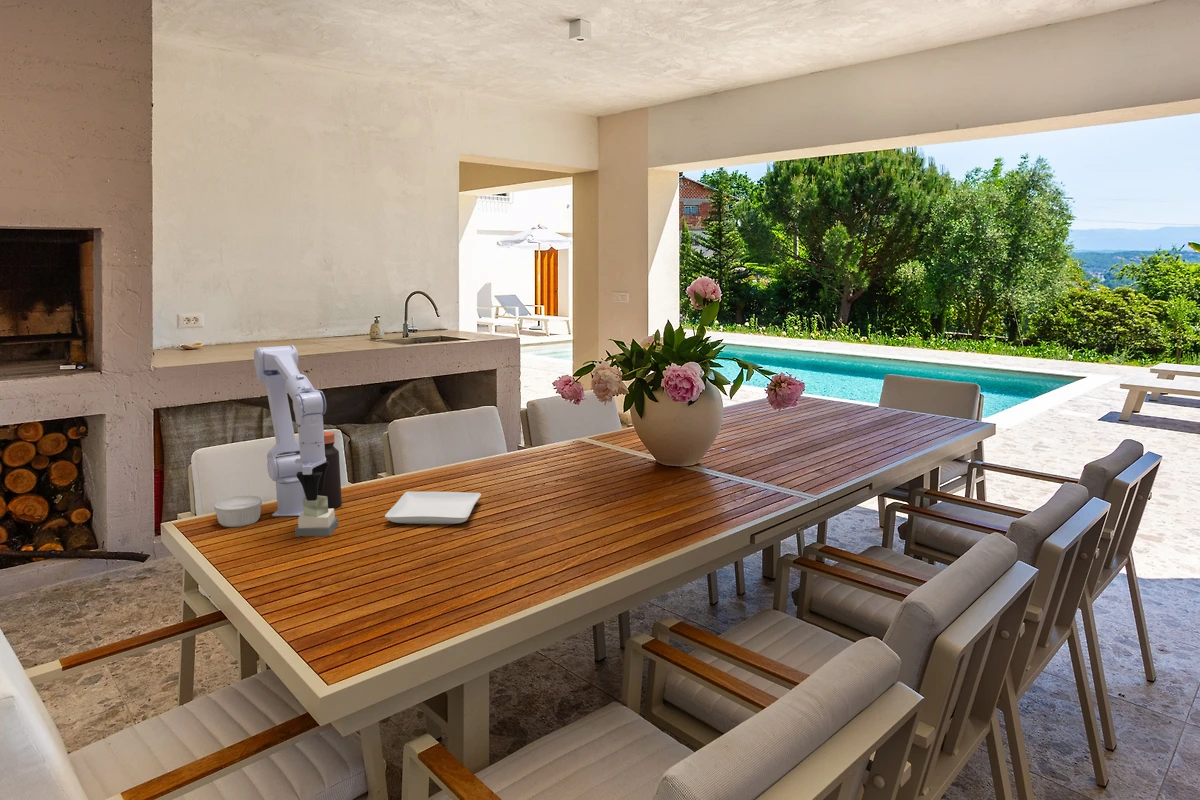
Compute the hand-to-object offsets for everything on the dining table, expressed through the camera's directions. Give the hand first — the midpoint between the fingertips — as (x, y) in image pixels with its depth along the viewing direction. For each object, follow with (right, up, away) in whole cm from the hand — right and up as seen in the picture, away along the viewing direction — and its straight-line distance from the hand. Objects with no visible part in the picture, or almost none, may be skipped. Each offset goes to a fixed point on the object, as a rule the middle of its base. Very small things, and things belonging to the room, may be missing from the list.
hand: (315, 495), depth 192 cm
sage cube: (0, -5, +1) cm, 5 cm away
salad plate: (+26, -7, +15) cm, 31 cm away
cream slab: (0, -7, +1) cm, 7 cm away
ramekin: (-22, -8, +9) cm, 25 cm away
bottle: (-4, -6, +21) cm, 22 cm away
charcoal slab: (0, -9, +2) cm, 10 cm away
